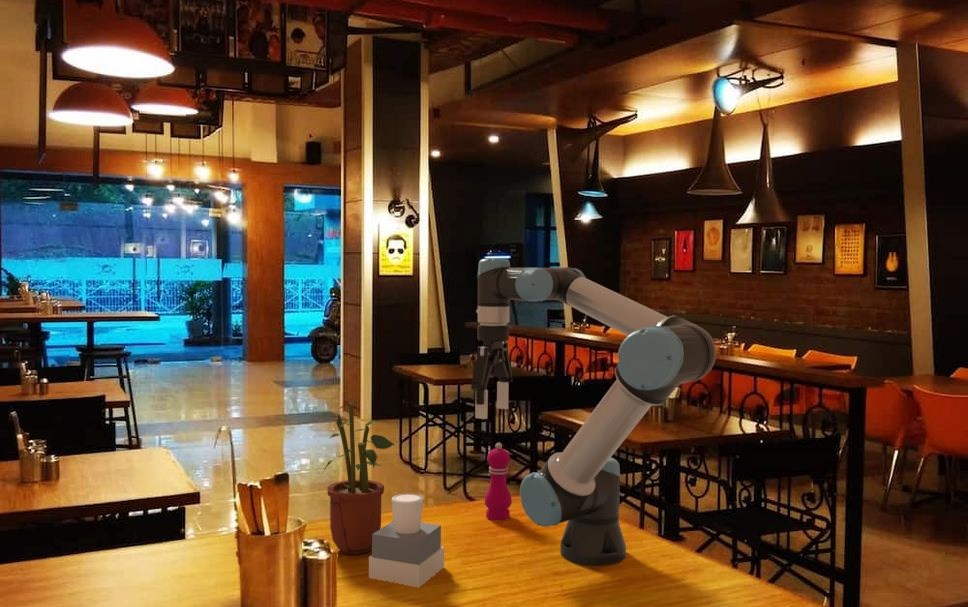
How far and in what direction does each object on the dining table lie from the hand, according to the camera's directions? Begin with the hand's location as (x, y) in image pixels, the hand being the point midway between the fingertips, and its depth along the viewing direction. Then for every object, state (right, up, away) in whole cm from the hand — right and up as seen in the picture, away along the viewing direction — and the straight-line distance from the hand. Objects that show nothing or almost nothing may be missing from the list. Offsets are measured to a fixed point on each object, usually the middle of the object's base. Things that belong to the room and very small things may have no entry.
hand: (492, 413), depth 189 cm
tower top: (-19, -28, -17) cm, 37 cm away
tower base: (-19, -33, -16) cm, 41 cm away
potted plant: (-32, -32, 0) cm, 45 cm away
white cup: (-19, -23, -17) cm, 34 cm away
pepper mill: (+2, -31, +22) cm, 38 cm away
